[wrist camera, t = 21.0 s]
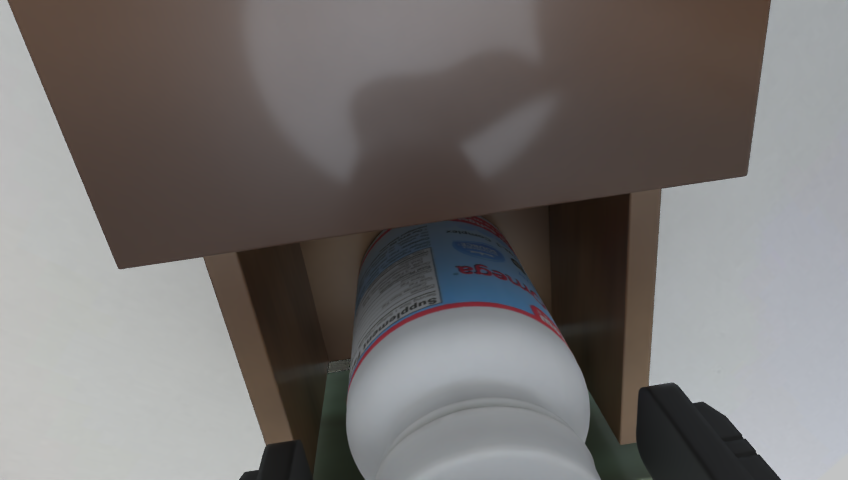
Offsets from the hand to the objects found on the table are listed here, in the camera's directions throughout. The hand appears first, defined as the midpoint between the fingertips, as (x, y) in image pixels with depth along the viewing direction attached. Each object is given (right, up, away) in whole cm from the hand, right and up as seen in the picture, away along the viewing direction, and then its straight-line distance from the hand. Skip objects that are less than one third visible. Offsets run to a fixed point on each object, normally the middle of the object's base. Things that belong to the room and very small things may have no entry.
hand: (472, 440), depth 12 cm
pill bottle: (-1, +3, +8) cm, 9 cm away
